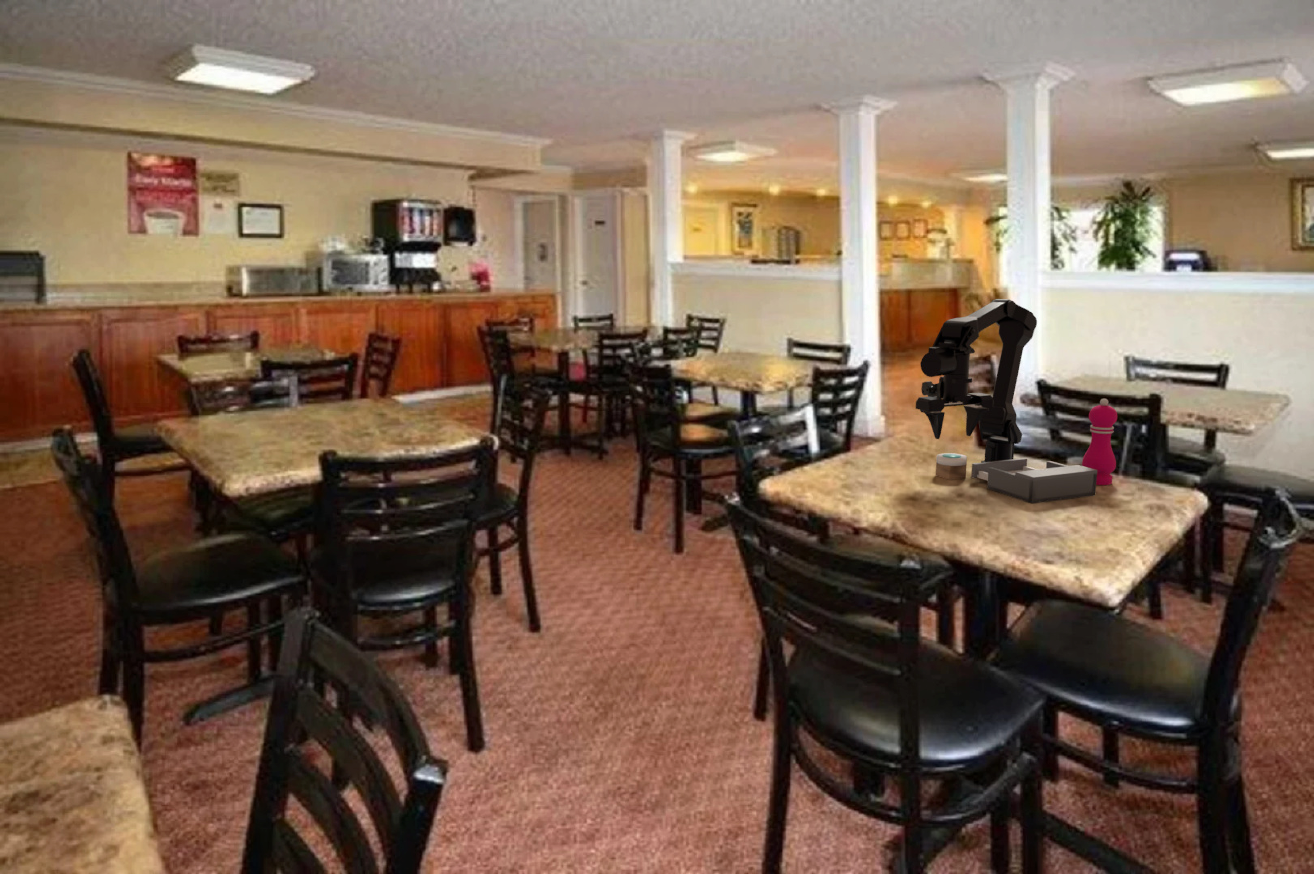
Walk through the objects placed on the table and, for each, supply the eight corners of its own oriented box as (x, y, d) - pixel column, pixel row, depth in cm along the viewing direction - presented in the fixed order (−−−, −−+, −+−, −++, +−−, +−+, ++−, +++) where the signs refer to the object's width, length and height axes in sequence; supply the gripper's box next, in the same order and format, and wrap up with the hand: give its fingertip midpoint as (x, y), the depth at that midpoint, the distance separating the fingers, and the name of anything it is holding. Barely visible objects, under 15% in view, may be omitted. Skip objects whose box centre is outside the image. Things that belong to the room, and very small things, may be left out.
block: (952, 473, 227) (953, 459, 227) (965, 477, 223) (966, 463, 222) (935, 475, 225) (936, 461, 225) (948, 479, 221) (949, 465, 220)
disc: (953, 458, 228) (954, 451, 228) (972, 464, 221) (973, 457, 221) (930, 461, 225) (930, 454, 225) (948, 466, 219) (949, 459, 219)
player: (1048, 481, 218) (1050, 457, 217) (1095, 495, 206) (1097, 469, 205) (987, 488, 212) (988, 464, 211) (1031, 503, 199) (1033, 477, 198)
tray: (1023, 471, 224) (1024, 458, 224) (1065, 483, 212) (1066, 469, 211) (971, 477, 219) (972, 463, 218) (1011, 490, 206) (1012, 475, 206)
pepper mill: (1087, 477, 222) (1094, 395, 219) (1118, 482, 217) (1126, 398, 214) (1075, 482, 217) (1082, 398, 214) (1107, 487, 212) (1115, 402, 209)
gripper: (965, 367, 230) (962, 428, 233) (902, 371, 223) (900, 434, 226) (996, 372, 220) (992, 436, 223) (932, 377, 213) (928, 442, 216)
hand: (952, 437), depth 222 cm, fingers open, 9 cm apart
